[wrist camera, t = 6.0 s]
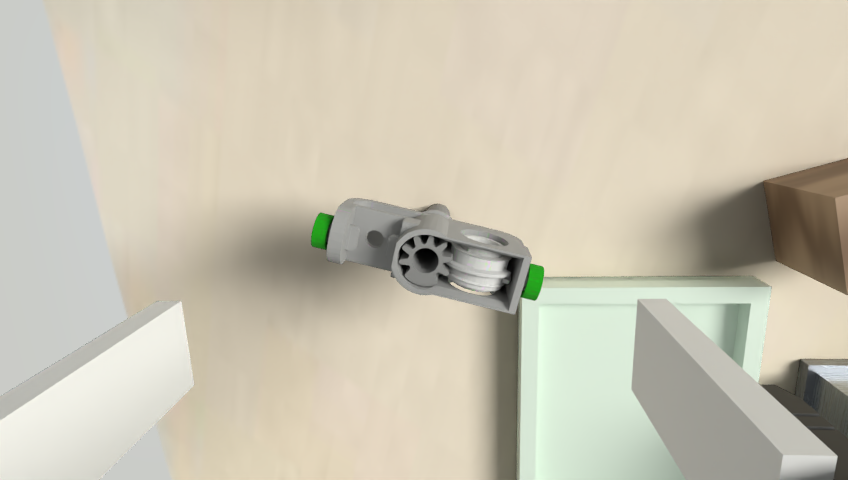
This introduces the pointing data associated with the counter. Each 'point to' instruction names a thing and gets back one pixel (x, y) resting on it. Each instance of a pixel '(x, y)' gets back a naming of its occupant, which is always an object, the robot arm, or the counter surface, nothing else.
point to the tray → (614, 369)
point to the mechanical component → (431, 252)
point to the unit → (825, 389)
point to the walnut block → (812, 222)
